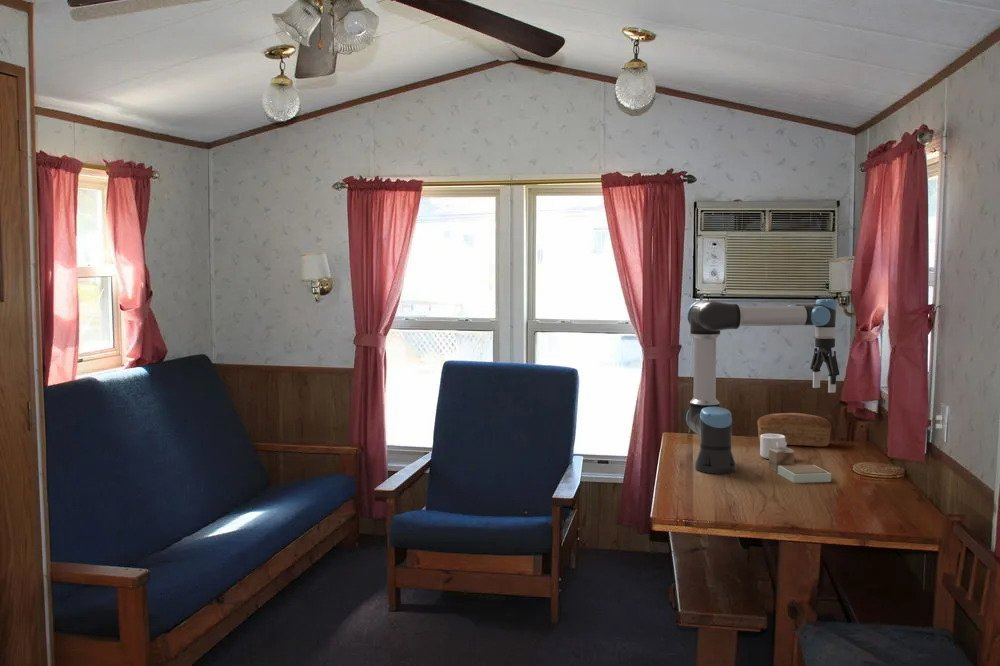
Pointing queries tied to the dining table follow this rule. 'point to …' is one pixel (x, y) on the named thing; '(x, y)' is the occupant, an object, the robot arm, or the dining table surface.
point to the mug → (770, 443)
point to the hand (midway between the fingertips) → (824, 390)
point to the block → (780, 457)
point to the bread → (796, 428)
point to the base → (804, 473)
